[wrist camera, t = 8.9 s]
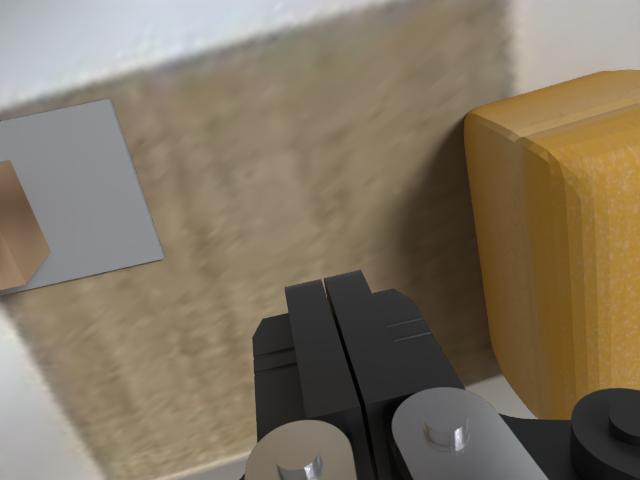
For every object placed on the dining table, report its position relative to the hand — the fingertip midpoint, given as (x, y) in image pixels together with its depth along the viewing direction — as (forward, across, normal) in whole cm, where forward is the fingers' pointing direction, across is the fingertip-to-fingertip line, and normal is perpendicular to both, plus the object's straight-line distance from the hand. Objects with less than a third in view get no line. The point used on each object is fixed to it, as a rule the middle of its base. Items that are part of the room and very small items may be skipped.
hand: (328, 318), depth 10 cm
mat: (+29, +21, +4) cm, 36 cm away
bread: (+29, -21, +16) cm, 39 cm away
